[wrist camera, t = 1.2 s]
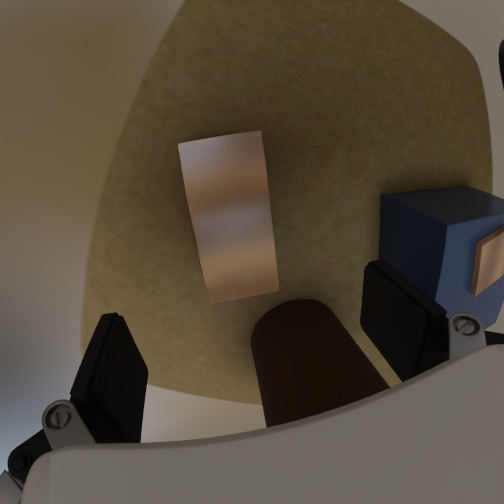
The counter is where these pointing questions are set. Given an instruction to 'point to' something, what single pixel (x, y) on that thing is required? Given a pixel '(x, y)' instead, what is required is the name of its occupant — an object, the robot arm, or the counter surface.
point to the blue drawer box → (443, 245)
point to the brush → (231, 214)
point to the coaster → (488, 261)
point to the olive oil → (309, 363)
